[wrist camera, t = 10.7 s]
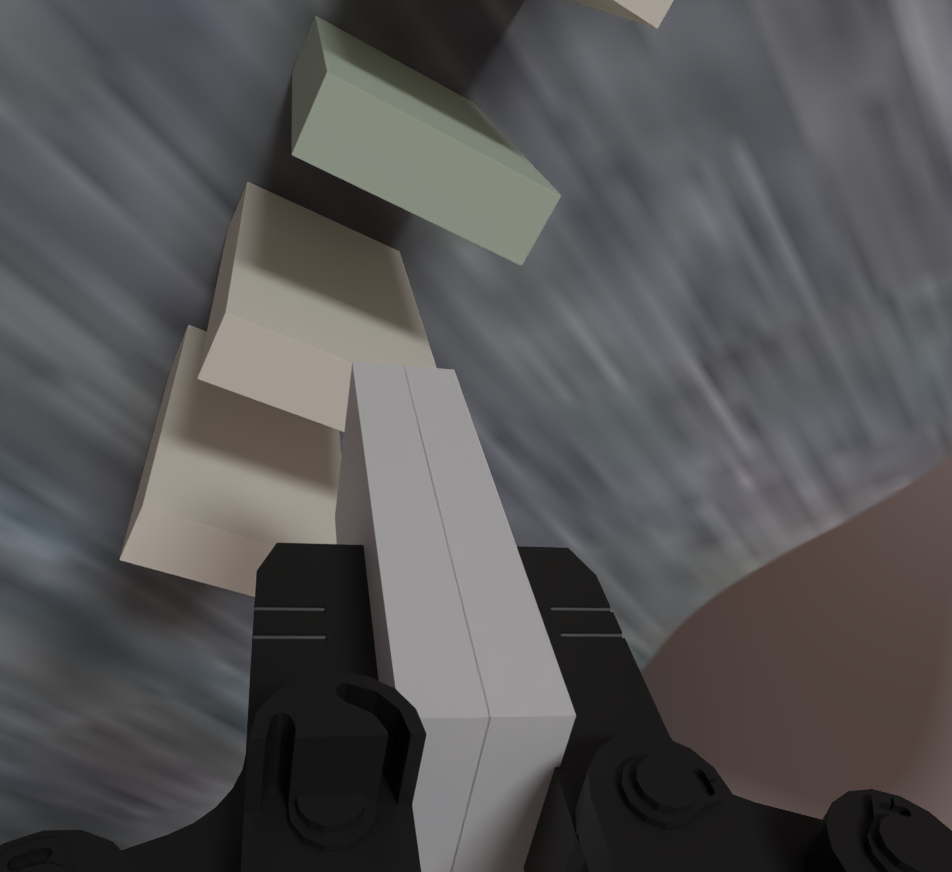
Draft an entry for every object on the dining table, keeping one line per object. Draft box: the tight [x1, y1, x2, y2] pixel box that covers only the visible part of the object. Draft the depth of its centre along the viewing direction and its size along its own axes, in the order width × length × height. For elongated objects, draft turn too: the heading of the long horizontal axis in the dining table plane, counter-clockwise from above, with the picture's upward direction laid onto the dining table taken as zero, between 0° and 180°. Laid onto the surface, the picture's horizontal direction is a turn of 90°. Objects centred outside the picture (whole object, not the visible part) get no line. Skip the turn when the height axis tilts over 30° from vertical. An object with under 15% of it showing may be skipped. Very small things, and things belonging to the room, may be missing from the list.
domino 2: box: [197, 181, 436, 432], centre depth 23 cm, size 2×5×10 cm, turn 61°
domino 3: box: [119, 325, 341, 597], centre depth 25 cm, size 2×5×10 cm, turn 62°
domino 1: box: [292, 15, 561, 266], centre depth 21 cm, size 2×5×10 cm, turn 62°
